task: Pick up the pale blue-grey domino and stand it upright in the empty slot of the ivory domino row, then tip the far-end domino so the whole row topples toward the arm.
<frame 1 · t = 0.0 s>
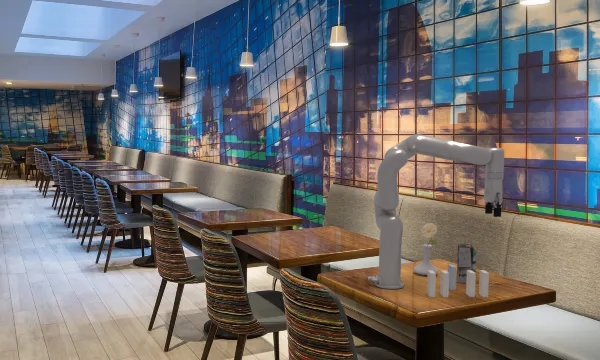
hand: (492, 215, 259), 31 cm above the table, tool pointing down, fingers open, 9 cm apart
domino 4: (444, 295, 244), on the table
domino 1: (483, 295, 245), on the table
beverage can: (467, 273, 283), on the table
flower in vase: (426, 274, 280), on the table
coffee box: (464, 281, 269), on the table
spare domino: (451, 288, 255), on the table
domino 2: (470, 295, 245), on the table
domino 5: (431, 295, 244), on the table
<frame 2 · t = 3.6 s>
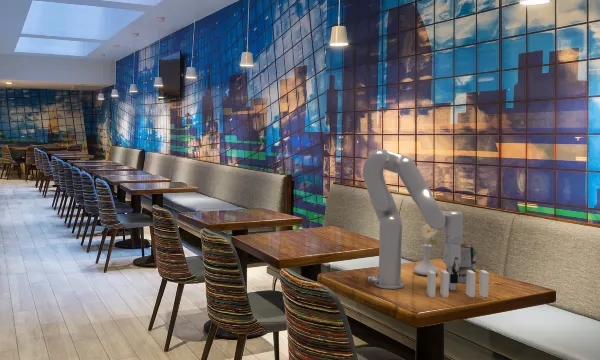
hand: (451, 281, 255), 3 cm above the table, tool pointing down, fingers closed on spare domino, 4 cm apart
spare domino: (451, 288, 255), on the table, touching gripper
everything else where it was.
when the fingers open (4 cm above the table, at t = 10.3 s): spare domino drops 1 cm, on the table.
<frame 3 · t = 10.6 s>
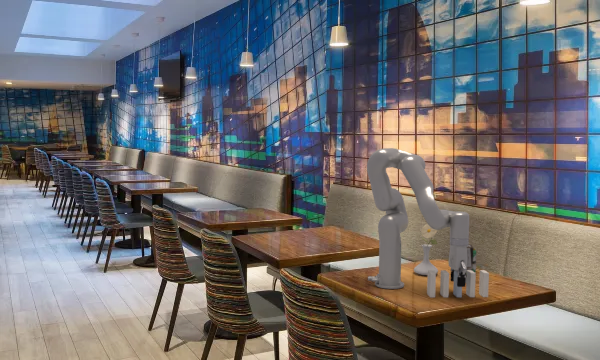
hand: (457, 283, 244), 5 cm above the table, tool pointing down, fingers open, 8 cm apart
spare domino: (457, 295, 244), on the table
everything else where it was.
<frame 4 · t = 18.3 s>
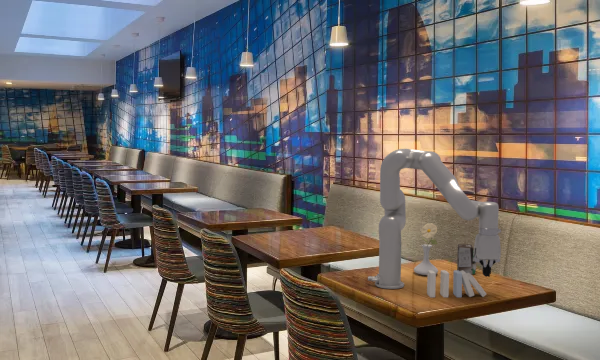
hand: (486, 275, 244), 8 cm above the table, tool pointing down, fingers closed
domino 1: (482, 293, 245), point 1 cm above the table, tilted 39°, touching domino 2
domino 2: (470, 294, 245), on the table, tilted 21°, touching domino 1
everything else where it was.
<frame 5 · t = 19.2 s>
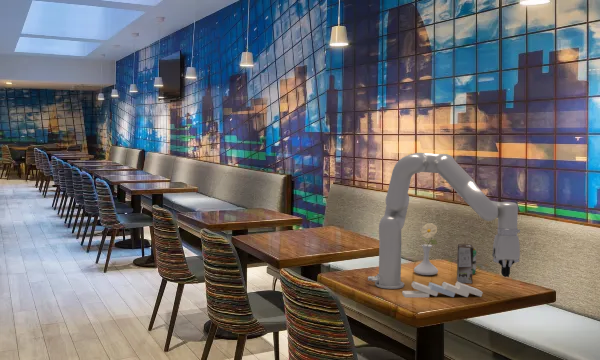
hand: (505, 276, 245), 8 cm above the table, tool pointing down, fingers closed
domino 4: (436, 292, 244), point 1 cm above the table, tilted 71°, touching domino 5, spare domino
domino 1: (479, 293, 245), point 1 cm above the table, tilted 70°, touching domino 2
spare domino: (452, 293, 244), point 1 cm above the table, tilted 71°, touching domino 4
domino 2: (466, 293, 244), point 1 cm above the table, tilted 70°, touching domino 1
domino 5: (427, 294, 244), on the table, tilted 90°, touching domino 4
everything else where it was.
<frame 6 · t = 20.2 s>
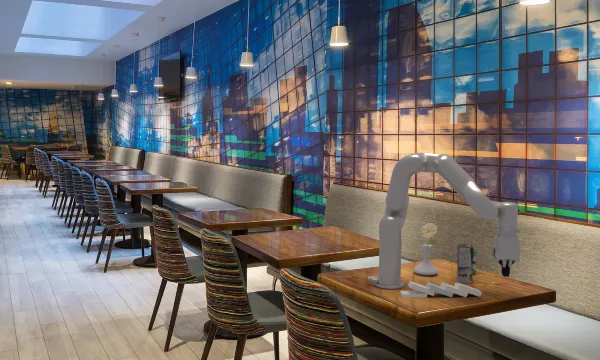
hand: (505, 276, 245), 8 cm above the table, tool pointing down, fingers closed
domino 4: (432, 292, 244), point 1 cm above the table, tilted 71°, touching domino 5, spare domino
domino 1: (478, 293, 245), point 1 cm above the table, tilted 70°, touching domino 2
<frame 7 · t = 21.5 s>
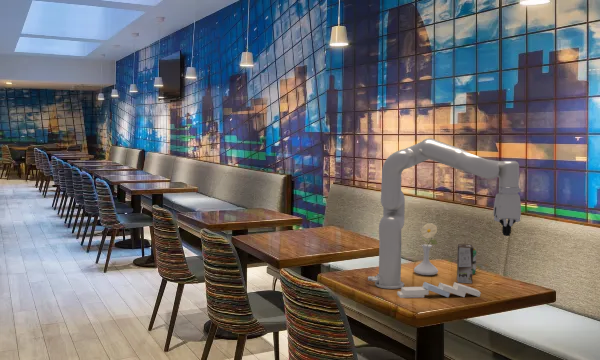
hand: (506, 235, 244), 25 cm above the table, tool pointing down, fingers closed
domino 4: (426, 290, 243), point 2 cm above the table, tilted 90°, touching domino 5
domino 1: (477, 293, 245), point 1 cm above the table, tilted 72°
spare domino: (446, 293, 244), point 1 cm above the table, tilted 68°, touching domino 2
domino 2: (462, 293, 244), point 1 cm above the table, tilted 71°, touching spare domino
domino 5: (422, 295, 244), on the table, tilted 90°, touching domino 4
everything else where it was.
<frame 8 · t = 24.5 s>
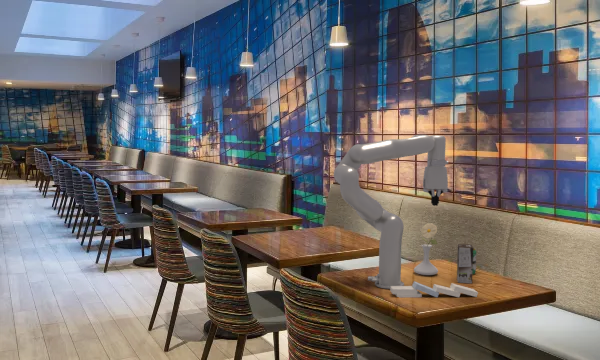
hand: (434, 205, 260), 35 cm above the table, tool pointing down, fingers closed
domino 4: (415, 290, 244), point 2 cm above the table, tilted 90°, touching domino 5
domino 1: (475, 293, 245), point 1 cm above the table, tilted 74°, touching domino 2
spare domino: (436, 293, 244), point 1 cm above the table, tilted 68°
domino 2: (457, 293, 244), point 1 cm above the table, tilted 76°, touching domino 1
domino 5: (420, 294, 244), on the table, tilted 90°, touching domino 4
everything else where it was.
at the end: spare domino inside the target area (1.0 cm from its centre), point 0.9 cm above the table; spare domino tilted 68°; domino 5 tilted 90° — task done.
